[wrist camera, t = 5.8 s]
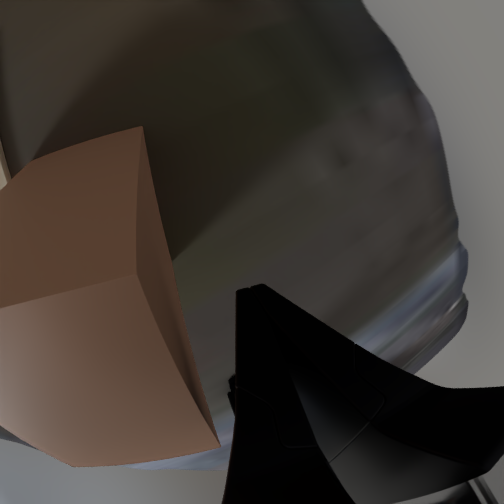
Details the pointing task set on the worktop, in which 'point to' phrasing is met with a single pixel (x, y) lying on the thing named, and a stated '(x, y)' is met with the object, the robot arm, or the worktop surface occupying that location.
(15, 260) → the terracotta block
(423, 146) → the worktop surface
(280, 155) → the worktop surface
